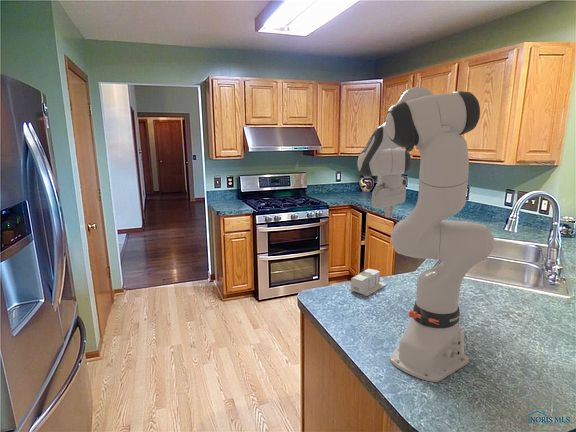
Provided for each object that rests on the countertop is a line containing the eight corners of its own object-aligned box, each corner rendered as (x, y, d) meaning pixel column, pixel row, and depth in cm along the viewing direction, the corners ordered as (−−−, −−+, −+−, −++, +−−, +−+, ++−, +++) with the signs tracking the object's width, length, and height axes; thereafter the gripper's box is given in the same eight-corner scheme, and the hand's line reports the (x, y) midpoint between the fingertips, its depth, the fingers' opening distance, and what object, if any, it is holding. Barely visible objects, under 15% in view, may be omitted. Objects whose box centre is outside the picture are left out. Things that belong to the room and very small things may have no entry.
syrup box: (362, 294, 139) (380, 283, 149) (362, 281, 138) (380, 270, 148) (350, 290, 143) (368, 280, 153) (350, 277, 142) (368, 267, 152)
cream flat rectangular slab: (367, 295, 138) (367, 294, 138) (349, 289, 145) (349, 288, 145) (387, 284, 148) (387, 283, 148) (369, 279, 155) (369, 278, 155)
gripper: (382, 184, 125) (381, 221, 127) (409, 180, 139) (408, 213, 141) (367, 184, 129) (367, 220, 132) (394, 179, 143) (394, 212, 146)
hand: (388, 216), depth 137 cm, fingers closed
